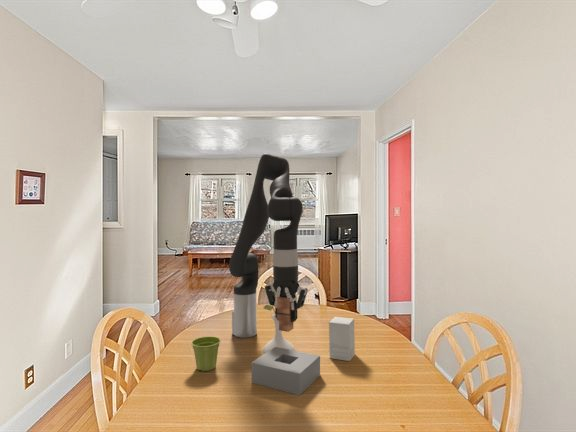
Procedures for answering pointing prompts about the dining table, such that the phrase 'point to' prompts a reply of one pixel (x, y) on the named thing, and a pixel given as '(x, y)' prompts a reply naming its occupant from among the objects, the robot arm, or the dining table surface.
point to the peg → (284, 314)
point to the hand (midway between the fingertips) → (286, 320)
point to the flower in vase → (276, 333)
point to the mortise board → (286, 370)
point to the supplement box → (341, 338)
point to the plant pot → (206, 352)
